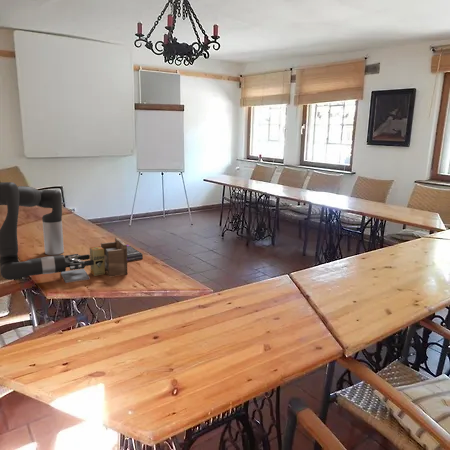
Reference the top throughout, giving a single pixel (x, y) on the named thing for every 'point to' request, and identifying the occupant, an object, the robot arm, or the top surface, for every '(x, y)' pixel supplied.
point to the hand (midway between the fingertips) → (91, 259)
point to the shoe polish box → (97, 260)
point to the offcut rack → (115, 257)
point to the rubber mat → (75, 275)
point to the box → (133, 254)
